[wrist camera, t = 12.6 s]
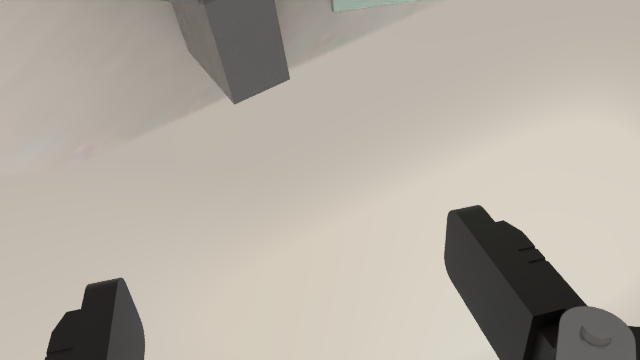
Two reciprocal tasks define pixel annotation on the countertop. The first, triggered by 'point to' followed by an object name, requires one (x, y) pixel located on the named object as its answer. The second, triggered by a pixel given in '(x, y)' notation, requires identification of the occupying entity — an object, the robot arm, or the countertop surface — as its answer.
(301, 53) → the countertop surface
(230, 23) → the ring
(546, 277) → the robot arm
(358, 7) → the mat
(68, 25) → the countertop surface
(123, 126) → the countertop surface
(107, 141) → the countertop surface
